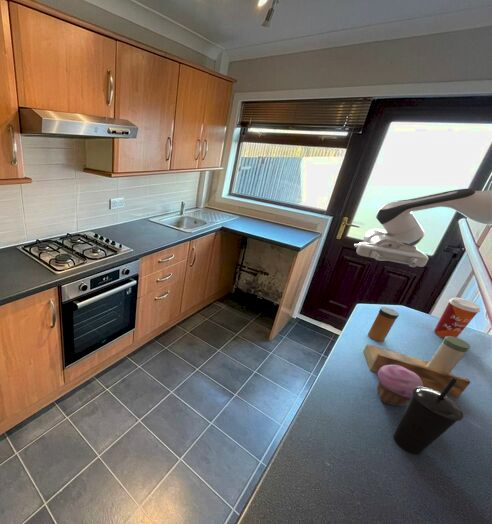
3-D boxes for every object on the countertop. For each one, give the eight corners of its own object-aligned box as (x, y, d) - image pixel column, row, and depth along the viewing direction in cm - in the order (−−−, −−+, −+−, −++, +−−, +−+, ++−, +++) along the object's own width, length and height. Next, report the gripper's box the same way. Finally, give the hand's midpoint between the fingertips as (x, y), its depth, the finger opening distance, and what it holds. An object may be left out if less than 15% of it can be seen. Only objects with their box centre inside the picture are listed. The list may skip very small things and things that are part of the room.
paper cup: (440, 340, 98) (463, 307, 92) (424, 326, 105) (444, 295, 99) (466, 343, 97) (490, 310, 91) (448, 329, 104) (469, 298, 98)
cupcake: (365, 380, 79) (380, 353, 75) (403, 393, 76) (421, 366, 72) (372, 405, 72) (390, 377, 68) (415, 420, 69) (436, 391, 64)
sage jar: (443, 368, 81) (464, 339, 76) (451, 380, 77) (474, 350, 72) (422, 362, 83) (442, 333, 78) (429, 374, 79) (450, 344, 74)
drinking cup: (387, 420, 68) (429, 359, 59) (429, 444, 63) (481, 381, 55) (382, 442, 63) (427, 378, 54) (428, 469, 58) (485, 404, 50)
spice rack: (442, 374, 83) (453, 359, 81) (458, 397, 76) (470, 382, 73) (363, 351, 90) (370, 336, 88) (370, 370, 83) (378, 355, 80)
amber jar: (382, 335, 98) (396, 309, 94) (386, 343, 94) (401, 317, 90) (365, 331, 100) (379, 305, 95) (369, 339, 96) (383, 312, 91)
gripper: (356, 235, 111) (364, 246, 99) (421, 246, 103) (438, 260, 92) (350, 250, 113) (357, 262, 102) (413, 262, 106) (428, 276, 94)
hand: (396, 261), depth 97 cm, fingers open, 8 cm apart
